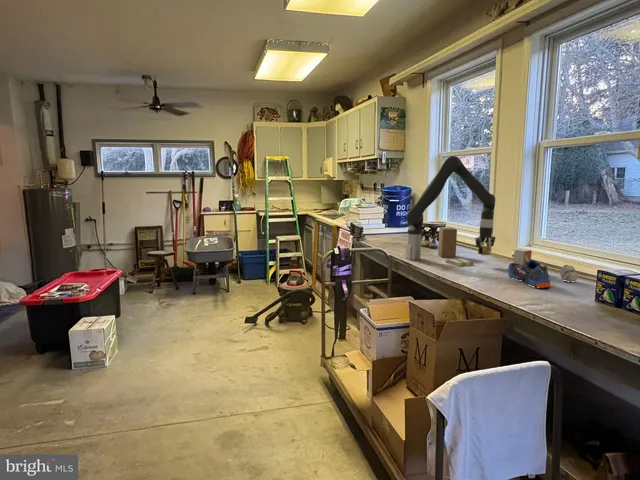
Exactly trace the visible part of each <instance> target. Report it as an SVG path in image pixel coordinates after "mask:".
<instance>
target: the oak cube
mask: <svg viewBox="0 0 640 480" xmlns="http://www.w3.org/2000/svg"><path fill="white" fill-rule="evenodd" d="M491 247H492V246H491ZM491 247H489V246H487V245H483V247H482V248H483V249H482V254H480V253H479V247H478V249H477V251H478V252H477V254H478V255H481V256H490V255H491V249H492V248H491Z"/></svg>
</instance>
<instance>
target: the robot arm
mask: <svg viewBox="0 0 640 480" xmlns="http://www.w3.org/2000/svg"><path fill="white" fill-rule="evenodd" d="M453 173H455V174H456V175H457V176H459V178H460V179H461V180H462V181H463V183H464V184H465V185H466V187H468V189H469V190H470V191H471V192H472V193H473V195H475V196H476V197H477V198H478V199H479V201H480V202H481V203H482V204H483V205H482V210H481V214H480V223H479V235H478V237H477V236H475V238H474V240H475V246H476V247H478V248H479V253H480V254H479V255H481V254H482V249H483V248H482V247H483V246H489V247H494V245H495V241H496V236H492V235H493V232H494V231H493V230H494V214H495V213H494V210H495V206H496V196H495V195H494V194H493V193H490V192H489V191H488V190H487V189H486V188H485V186H484V185H483V184H482V183H481V182H480V181H479V179H477V178H476V177H475V176H474V175H473V174H472V173H471V172H470V171H469V170H468V168H466V166H465V165H464V163H463V162H462V160H461V159H460V157H458V156H455V155H450V156H448V157H447V158H445V160H444V161H443V164H442V165H441V167H440V169H439V170H438V172H437V173H436V174H435V176H434V177H433V178H432V179H431V181H430V182H429V184H428V185H427V186H426V188H425V189H424V191H423V192H422V194H421V195H420V197H419V198H418V201H416V203H415V204H414V205H413V206H412V208H411V209H410V210H409V211H408V212H407V214H406V221H407V223H408V224H409V227H408V229H407V237H406V238H407V240H406V244H405V257H404V258H405V259H407V260H409V261H411V260H413V261H417V260H421V253H422V252H421V249H422V233H423V232H422V231H423V227H424V215H423V214H424V213H425V211H426V209H427V208H428V207H430V206H431V205H432V203H434V202H435V200H436V199H438V197H439V196H440V194H441V193H442V191H443V189H444V188H445V185H446V183H447V181H448V179H449V178H450V177H451V175H452V174H453ZM485 244H486V245H485Z"/></svg>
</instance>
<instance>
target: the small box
mask: <svg viewBox="0 0 640 480" xmlns="http://www.w3.org/2000/svg"><path fill="white" fill-rule="evenodd" d="M529 260H532V249H528V248H527V249H526V248H518V249H514V251H513V263H516V264H520V265H521V264H523V263H524V262H527V261H529Z"/></svg>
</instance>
